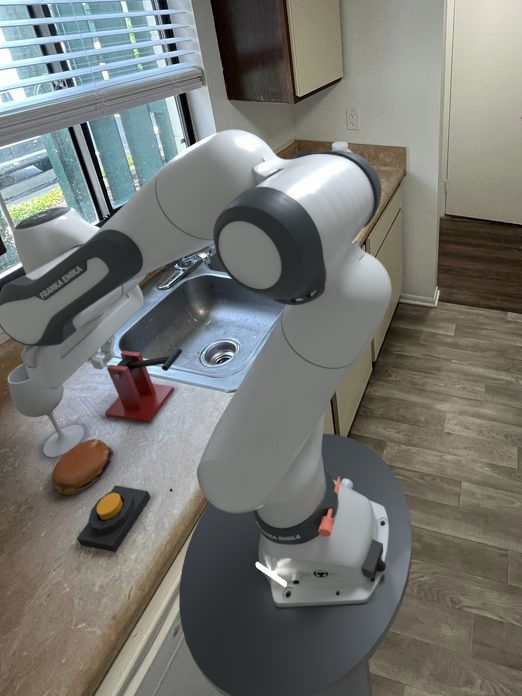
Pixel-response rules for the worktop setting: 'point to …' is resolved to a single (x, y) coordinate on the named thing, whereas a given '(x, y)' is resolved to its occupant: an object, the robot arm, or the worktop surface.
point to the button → (109, 506)
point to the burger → (81, 466)
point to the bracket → (136, 392)
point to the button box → (114, 520)
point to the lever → (151, 361)
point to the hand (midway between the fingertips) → (105, 362)
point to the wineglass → (43, 410)
